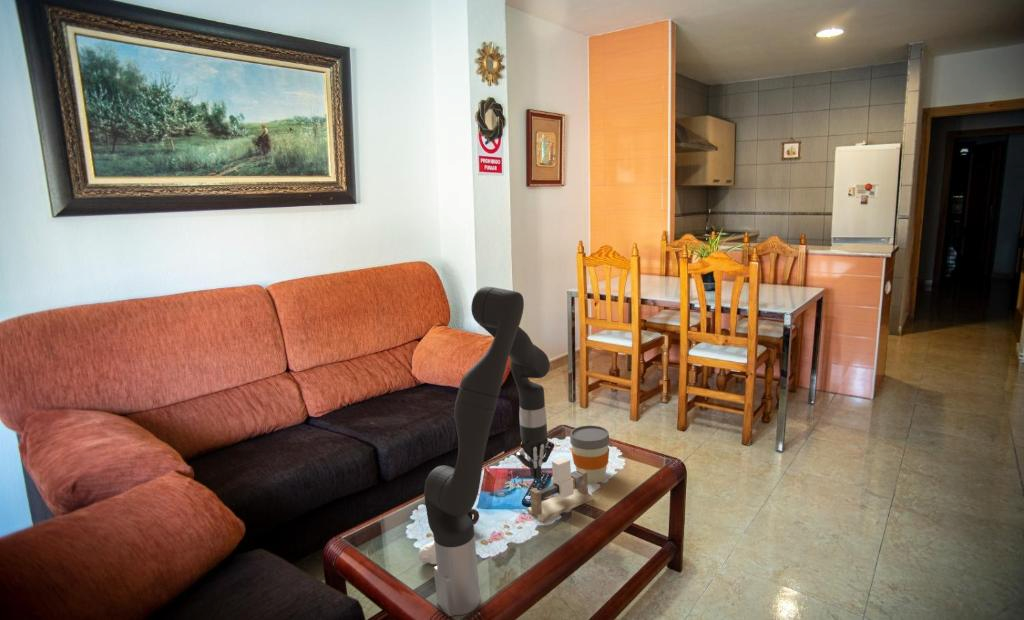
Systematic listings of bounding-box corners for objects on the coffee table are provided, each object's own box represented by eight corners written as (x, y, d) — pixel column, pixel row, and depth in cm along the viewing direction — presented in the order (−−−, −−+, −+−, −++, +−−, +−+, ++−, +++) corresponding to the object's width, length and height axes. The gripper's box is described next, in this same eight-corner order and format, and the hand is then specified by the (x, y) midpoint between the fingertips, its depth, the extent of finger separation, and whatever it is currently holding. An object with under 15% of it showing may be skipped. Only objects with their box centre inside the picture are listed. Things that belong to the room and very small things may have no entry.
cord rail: (541, 521, 171) (540, 496, 169) (527, 511, 177) (526, 486, 175) (592, 499, 181) (591, 474, 179) (577, 490, 187) (576, 466, 185)
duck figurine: (422, 577, 154) (432, 559, 146) (410, 550, 158) (418, 531, 150) (462, 558, 160) (473, 540, 153) (449, 533, 164) (460, 513, 157)
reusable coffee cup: (617, 471, 197) (615, 428, 194) (601, 489, 186) (599, 444, 183) (582, 464, 203) (580, 422, 200) (565, 480, 193) (562, 437, 190)
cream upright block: (561, 498, 176) (560, 466, 173) (551, 492, 179) (550, 460, 177) (573, 493, 178) (572, 461, 176) (563, 487, 182) (561, 455, 180)
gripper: (521, 431, 162) (524, 490, 165) (560, 418, 169) (562, 475, 173) (505, 423, 168) (509, 480, 172) (543, 411, 175) (546, 466, 179)
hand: (536, 478), depth 172 cm, fingers closed
